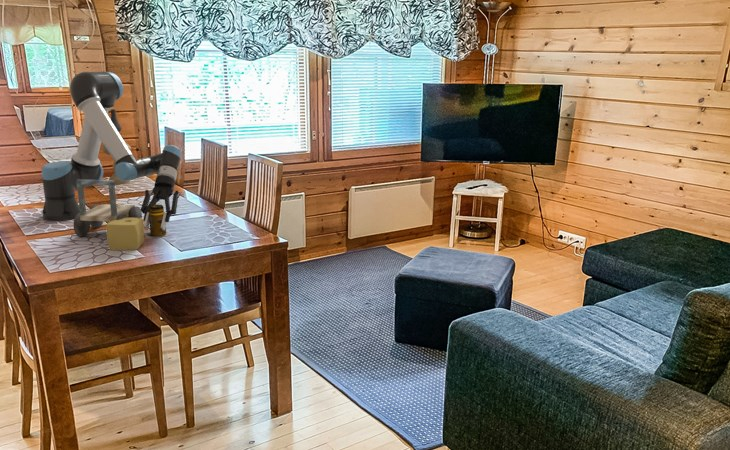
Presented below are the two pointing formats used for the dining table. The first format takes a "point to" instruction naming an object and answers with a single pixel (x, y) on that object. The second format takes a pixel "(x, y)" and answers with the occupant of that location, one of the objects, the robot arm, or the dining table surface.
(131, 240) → the cheese
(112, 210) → the trolley
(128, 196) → the dining table surface
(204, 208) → the dining table surface
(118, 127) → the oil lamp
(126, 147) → the robot arm
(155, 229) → the condiment
